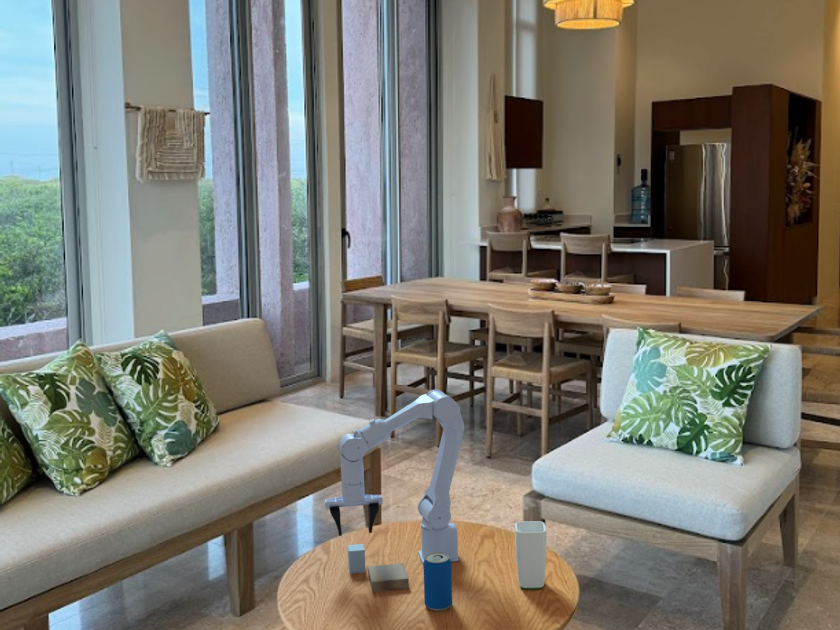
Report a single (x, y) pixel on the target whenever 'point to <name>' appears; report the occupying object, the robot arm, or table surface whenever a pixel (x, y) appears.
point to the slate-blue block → (356, 558)
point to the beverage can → (437, 581)
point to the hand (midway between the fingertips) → (355, 532)
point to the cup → (530, 553)
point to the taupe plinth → (388, 577)
